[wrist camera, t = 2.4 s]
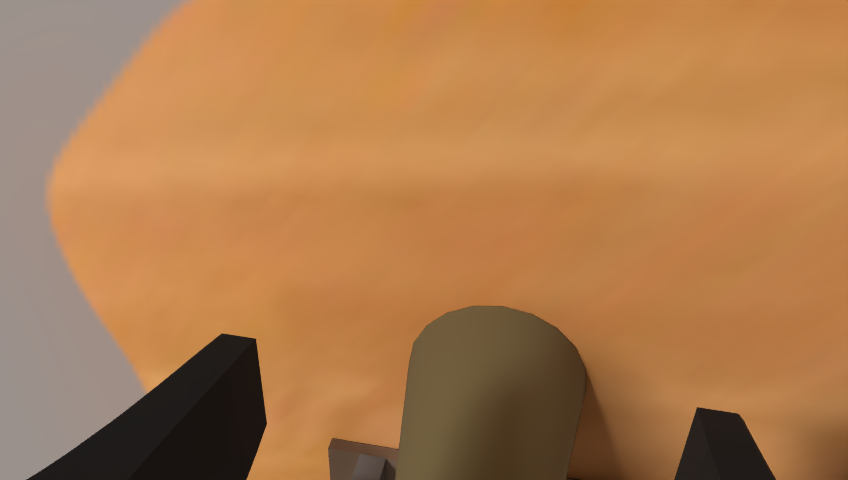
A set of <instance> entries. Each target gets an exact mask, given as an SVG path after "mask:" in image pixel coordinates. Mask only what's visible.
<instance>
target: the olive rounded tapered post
mask: <svg viewBox="0 0 848 480" xmlns="http://www.w3.org/2000/svg"><path fill="white" fill-rule="evenodd" d="M585 391H586V377H585V367H584V364H583V362H582V360H581V358H580V356H579V354H578V352H577V349H576V347H575V346H574V345H573V344H572V343H571V342H570V341H569V340H568V339H567V338H566V337H565V336H564V335H563V334H562V333H561V332H560V331H559V330H558V329H557V328H556V327H554V326H552V325H551V324H549V323H547V322H545V321H543V320H542V319H540V318H538V317H536V316H535V315H533V314H530V313H526V312H523V311H519V310H515V309H511V308H507V307H504V306H471V307H467V308H463V309H460V310H456V311H452V312H448V313H446V314H444V315H443V316H441V317H440V318H438V319H436V320H435V321H433V322H432V323H430V324H428V325H427V326H426V327H425V328H424V330H423V331H422V332H421V334H420V335H419V336H418V338H417V339H416V340H415V342H414V344H413V348H412V352H411V357H410V361H409V368H408V376H407V385H406V393H405V401H404V410H403V418H402V426H401V435H400V443H399V451H398V460H397V468H396V477H395V480H566V477H567V473H568V468H569V464H570V459H571V455H572V450H573V445H574V441H575V436H576V432H577V427H578V423H579V418H580V414H581V409H582V405H583V400H584V396H585Z"/></svg>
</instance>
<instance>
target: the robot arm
mask: <svg viewBox="0 0 848 480" xmlns="http://www.w3.org/2000/svg"><path fill="white" fill-rule="evenodd" d="M266 425H267V422H266V414H265V406H264V398H263V391H262V383H261V375H260V367H259V360H258V352H257V344H256V339H254V338H248V337H241V336H235V335H228V334H221V335H219V336H218V337H217V338H216V339H214V340H213V341H212V342H211V343H209V344H208V345H207V346H205V347H204V348H203V349H202V350H201V351H199V352H198V353H197V354H196V355H194V356H193V357H192V358H191V359H190V360H188V361H187V362H186V363H185V364H184V365H182V366H181V367H180V368H179V369H177V370H176V371H175V372H174V373H173V374H171V375H170V376H169V377H168V378H166V379H165V380H164V381H163V382H161V383H160V384H159V385H158V386H157V387H155V388H154V389H153V390H152V391H150V392H149V393H148V394H146V395H145V396H144V397H143V398H141V399H140V400H139V401H137V402H136V403H135V404H134V405H132V406H131V407H130V408H129V409H127V410H126V411H125V412H123V413H122V414H121V415H120V416H118V417H117V418H116V419H114V420H113V421H112V422H110V423H109V424H108V425H106V426H105V427H103V428H102V429H101V430H99V431H98V432H96V433H95V434H94V435H92V436H91V437H90V438H88V439H87V440H85V441H84V442H82V443H81V444H80V445H78V446H77V447H76V448H74V449H73V450H71V451H70V452H68V453H67V454H66V455H64V456H63V457H61V458H60V459H58V460H57V461H55V462H54V463H52V464H51V465H49V466H48V467H46V468H45V469H43V470H41V471H40V472H38V473H37V474H35V475H33V476H32V477H30V478H29V479H27V480H246V479H247V477H248V474H249V471H250V469H251V466H252V464H253V461H254V458H255V456H256V453H257V450H258V447H259V445H260V442H261V439H262V436H263V433H264V430H265V428H266ZM674 480H776V479H775V477H774V475H773V474H772V472H771V470H770V468H769V467H768V465H767V463H766V461H765V459H764V458H763V456H762V454H761V452H760V450H759V448H758V447H757V445H756V443H755V441H754V439H753V437H752V435H751V434H750V432H749V430H748V428H747V426H746V424H745V422H744V420H743V419H742V418H741V417H740V415H739V414H737V413H730V412H724V411H717V410H711V409H705V408H698V407H697V409H696V413H695V416H694V419H693V422H692V425H691V428H690V432H689V435H688V438H687V441H686V444H685V448H684V451H683V454H682V457H681V460H680V463H679V467H678V470H677V473H676V476H675V479H674Z"/></svg>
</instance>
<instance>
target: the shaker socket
mask: <svg viewBox="0 0 848 480" xmlns="http://www.w3.org/2000/svg"><path fill="white" fill-rule="evenodd" d="M328 451H329V465H330V479H331V480H395V477H396V468H397V460H398V451H399V450H398V449H392V448H386V447H380V446H374V445H368V444H362V443H357V442H351V441H345V440H339V439H333V438H332V440H331V443H330V445H329V448H328ZM566 480H575V479H569V478H566Z"/></svg>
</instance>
